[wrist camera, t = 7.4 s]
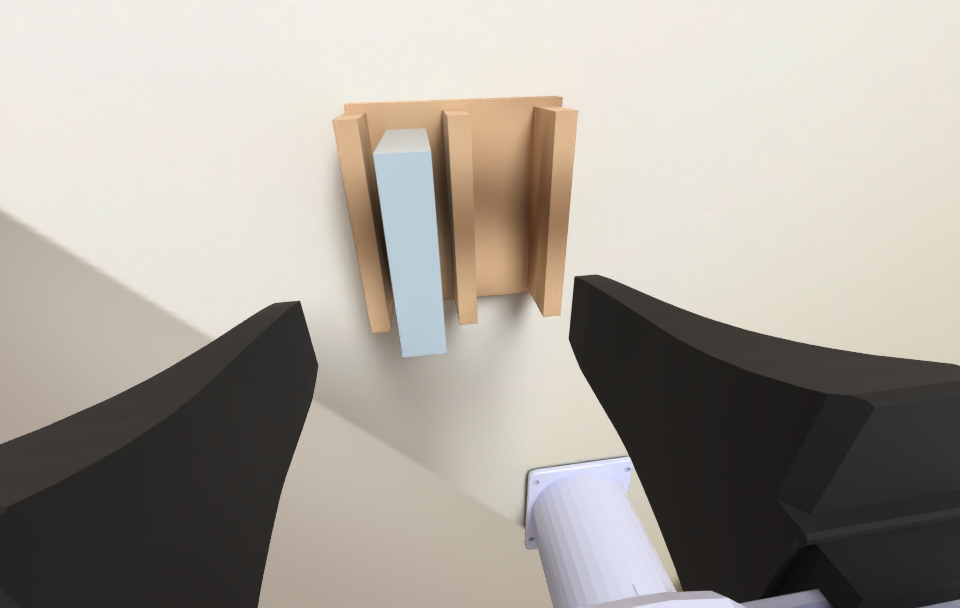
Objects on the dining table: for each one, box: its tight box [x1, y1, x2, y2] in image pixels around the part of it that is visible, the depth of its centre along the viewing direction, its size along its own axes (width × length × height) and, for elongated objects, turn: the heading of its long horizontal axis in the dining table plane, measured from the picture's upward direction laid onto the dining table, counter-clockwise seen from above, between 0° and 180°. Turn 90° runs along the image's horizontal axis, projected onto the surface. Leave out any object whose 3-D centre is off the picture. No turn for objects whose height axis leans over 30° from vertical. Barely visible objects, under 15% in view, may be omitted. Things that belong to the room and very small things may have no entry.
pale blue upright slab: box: [373, 128, 447, 358], centre depth 16 cm, size 7×2×6 cm, turn 1°
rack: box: [332, 96, 578, 333], centre depth 18 cm, size 9×9×4 cm
